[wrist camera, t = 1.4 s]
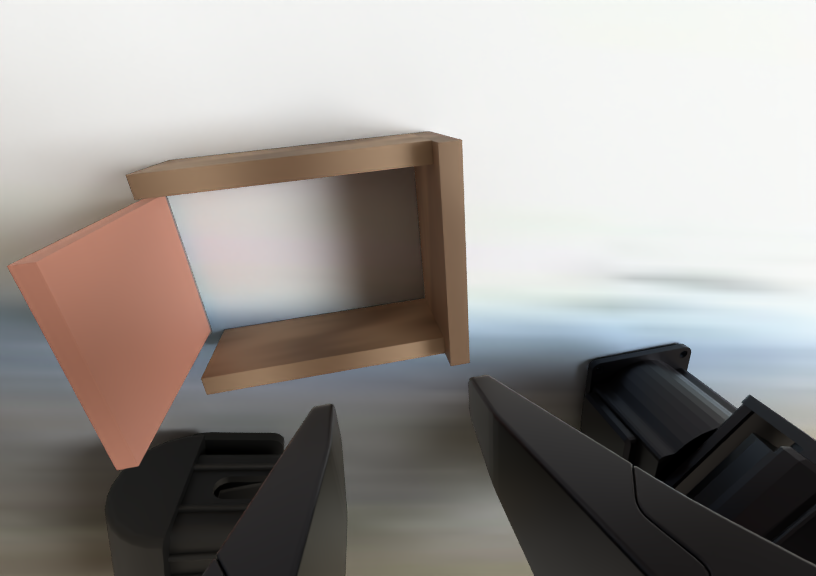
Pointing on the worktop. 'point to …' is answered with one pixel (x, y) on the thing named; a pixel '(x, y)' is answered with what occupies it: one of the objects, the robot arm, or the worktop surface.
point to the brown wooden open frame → (358, 328)
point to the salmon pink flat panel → (120, 320)
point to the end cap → (185, 501)
